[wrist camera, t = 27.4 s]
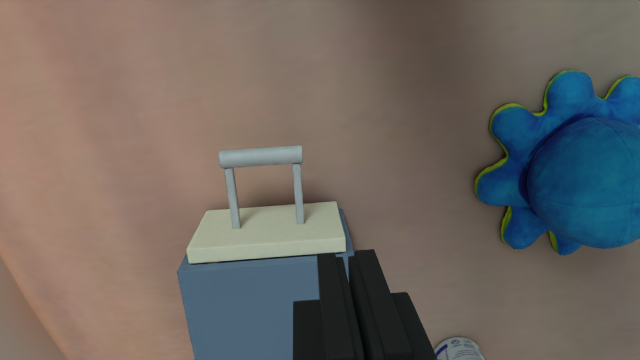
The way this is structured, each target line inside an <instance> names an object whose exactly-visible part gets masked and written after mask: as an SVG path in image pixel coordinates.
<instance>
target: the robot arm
mask: <svg viewBox="0 0 640 360" xmlns="http://www.w3.org/2000/svg"><path fill="white" fill-rule="evenodd" d="M317 269H318V285H319V299H315V300H303V301H293V360H439V359H437V357H436V355H435V352H434V350H433V348H432V346H431V343H430V341H429V339H428V337H427V334H426V332H425V330H424V328H423V325H422V323H421V321H420V319H419V317H418V314H417V312H416V310H415V308H414V305H413V303H412V301H411V299H410V296H409V295H408V293H406V292H401V293H390V290H389V288H388V285H387V283H386V280H385V277H384V275H383V272H382V269H381V267H380V264H379V261H378V259H377V256H376V253H375V251H374V249H371V250H358V251H355V254H354V256H348V276H349V282H348V278H347V273H346V269H345V264H344V260H343V257H336V254H335V252H331V253H318V254H317Z"/></svg>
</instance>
